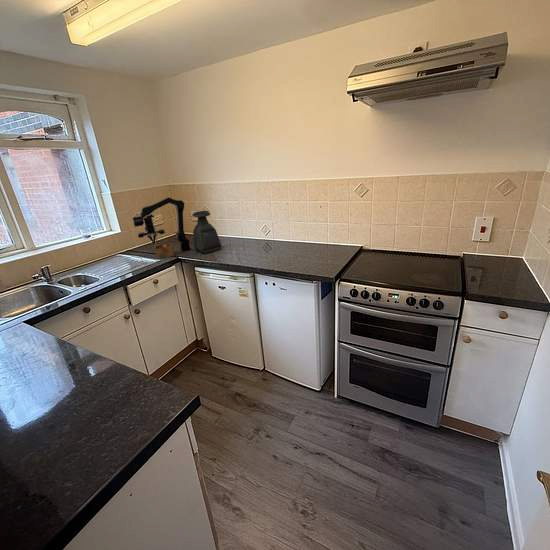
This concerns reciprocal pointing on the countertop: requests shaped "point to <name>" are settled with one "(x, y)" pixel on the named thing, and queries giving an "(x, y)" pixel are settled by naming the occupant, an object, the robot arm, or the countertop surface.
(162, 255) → the carton
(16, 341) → the countertop surface
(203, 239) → the bottle
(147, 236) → the robot arm
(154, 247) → the flap
